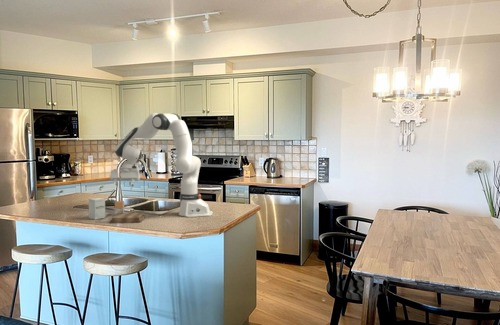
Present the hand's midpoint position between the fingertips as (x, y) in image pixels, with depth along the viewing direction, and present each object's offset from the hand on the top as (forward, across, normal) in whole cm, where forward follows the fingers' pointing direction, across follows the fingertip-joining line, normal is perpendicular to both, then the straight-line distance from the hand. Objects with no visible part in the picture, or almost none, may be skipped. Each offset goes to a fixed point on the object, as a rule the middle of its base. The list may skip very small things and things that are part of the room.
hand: (123, 184), depth 259 cm
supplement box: (+28, -12, -1) cm, 30 cm away
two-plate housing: (+22, 0, +4) cm, 22 cm away
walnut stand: (+32, +9, -7) cm, 34 cm away
